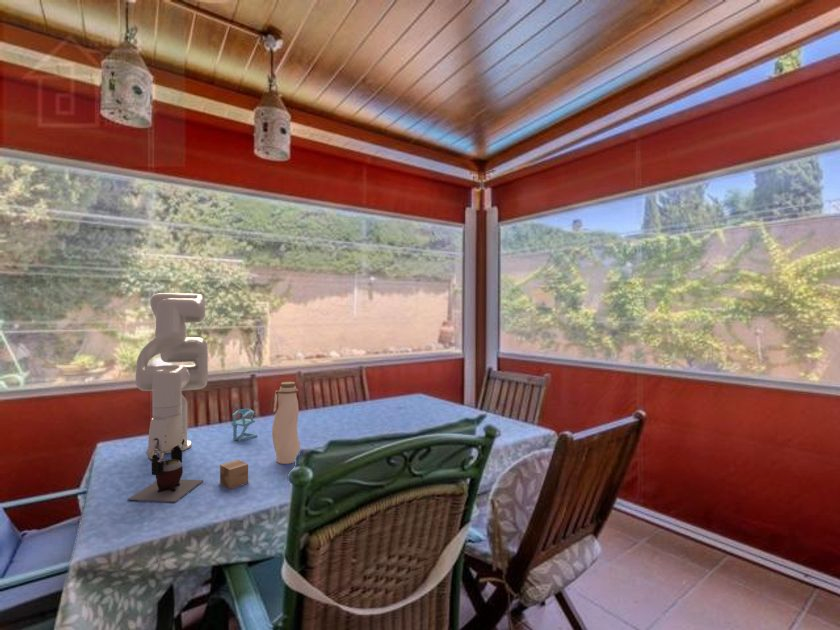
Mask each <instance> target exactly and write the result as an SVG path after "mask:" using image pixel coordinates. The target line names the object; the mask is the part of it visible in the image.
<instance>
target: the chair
mask: <svg viewBox="0 0 840 630" xmlns="http://www.w3.org/2000/svg"><path fill="white" fill-rule="evenodd" d="M238 414H241V419H239V420H237V418H236V416H237V415H238ZM254 414H255V411H254V410H253V409H251V408H247V407H246V408H243V409H242V408H241V409H238V410H236V411H235V412H234V413H232V418H233V421H232V422H231V426H232V429H233V439H232V441H233V442H236V441H240V442H243V441H246V439H247V440H250V439H254V438H257V437H258V433H250V432H246V431H247V429H248V428H249V426H250V425H252V424H254V423H256V420H255V419H254V418H253V417H254ZM249 415H251V416H250V419H248V418H247V416H249ZM238 426H240V427H243V429H242V431H241V432H240V433H239V434H238V435H237V432H238V431H237V428H238ZM243 436H244V437H243ZM235 440H236V441H235ZM242 440H243V441H242Z"/></svg>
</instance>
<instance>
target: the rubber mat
mask: <svg viewBox="0 0 840 630" xmlns="http://www.w3.org/2000/svg"><path fill="white" fill-rule="evenodd" d="M203 482H204V480H203V479H202V480H201V479H185V478H183V479H182V478H181V479H180V481H179V483H180V486H177V487H175V489H176V491H174V492H173V491H171V490H165V491H162V492H158V490H159V488H158V485H157V480H155V481H154V482H153V483H151V484H149V485H147V486H146V487H145V488H143V489H141V490H140V491H138V492H136V493H135V494H134V495H132V496H130V497H129V498H127V501H128V500H138V501H137V502H144V501H161V502H160V503H167V502H176V503H177V502H179V501H180V500H181V499H182V497H183V496H184V495H185V496H187V495H188V494H189V493H191V492H192V491H194V489H196V488H197V487H198V486H199V485H201V484H202V483H203ZM195 487H196V488H195ZM191 490H192V491H191ZM188 492H189V493H188ZM187 493H188V494H187ZM185 496H184V497H185ZM184 497H183V498H184ZM179 499H180V500H179ZM178 500H179V501H178Z"/></svg>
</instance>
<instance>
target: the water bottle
mask: <svg viewBox="0 0 840 630" xmlns="http://www.w3.org/2000/svg"><path fill="white" fill-rule="evenodd" d="M299 391H300V390H299V388H297V386H296V382H295V381H284V382H283V381H282V382H281V383H280V387H279V389H277V390H275V392H274V394H273V396H272V397H271V400H270V409H273V412H275V414H274V417H273V421H272V422H273V423H272V427H271V428H272V429H271V430H272V432H271V433H272V435H271V436H272V444H273V447H274V451H275V452H274V453H275V458H276V459H275V460H276V463H278V464H282V465H283V464H285V465H288V464H293V463H295V462H294V460H295V457H296V455H297V453H298V452H299V451H301V443H300V440H299V435H298V421H299V413H300V412H299V400H298V398H297V393H299ZM277 405H278V407H277Z"/></svg>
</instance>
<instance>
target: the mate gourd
mask: <svg viewBox="0 0 840 630" xmlns="http://www.w3.org/2000/svg"><path fill="white" fill-rule="evenodd" d="M158 450H160V449H158ZM158 455H160V453H158ZM162 461H163V475H155V481H157V485H158V488H159V490H158V492H162V491H165V490H171V491H173V492H174V491H176V489H175V487H177V486H180V483H179V481H180V479H182V476H183V472H184V468H183V464H182V463H183V462H182V463H181V462H180V461H179V460H177V459H171V458H169V459H166V460H165V458H164V457H163V458H162Z"/></svg>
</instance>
